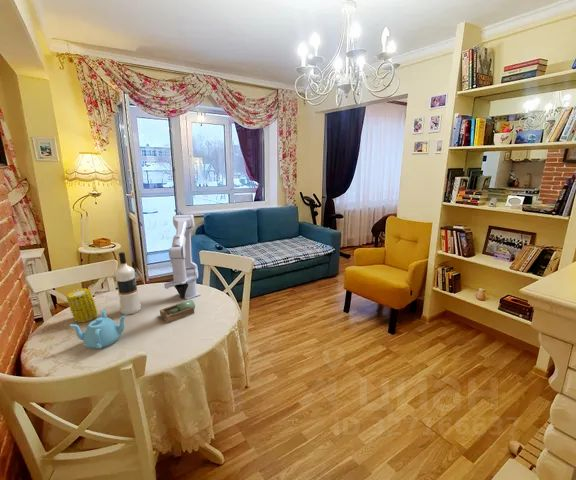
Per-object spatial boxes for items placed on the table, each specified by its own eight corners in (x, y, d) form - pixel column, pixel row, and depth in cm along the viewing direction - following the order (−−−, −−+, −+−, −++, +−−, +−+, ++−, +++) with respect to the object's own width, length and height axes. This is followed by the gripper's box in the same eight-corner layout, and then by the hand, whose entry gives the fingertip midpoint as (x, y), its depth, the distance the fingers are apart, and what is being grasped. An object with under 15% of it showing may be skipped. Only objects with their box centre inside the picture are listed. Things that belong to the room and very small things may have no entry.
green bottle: (190, 307, 150) (169, 315, 142) (189, 298, 148) (168, 305, 141) (195, 311, 146) (173, 319, 139) (194, 301, 145) (172, 309, 137)
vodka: (118, 310, 148) (108, 252, 140) (138, 304, 154) (130, 248, 146) (122, 317, 141) (112, 256, 133) (143, 311, 147) (134, 252, 139)
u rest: (160, 315, 142) (159, 310, 141) (185, 306, 150) (185, 301, 150) (168, 323, 135) (167, 317, 135) (194, 313, 144) (193, 307, 143)
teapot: (97, 356, 113) (92, 332, 110) (72, 346, 119) (67, 323, 116) (131, 336, 126) (127, 313, 123) (107, 328, 132) (103, 307, 129)
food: (102, 318, 144) (80, 329, 135) (87, 308, 148) (65, 318, 140) (100, 291, 138) (76, 301, 129) (84, 282, 142) (60, 291, 134)
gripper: (167, 277, 132) (170, 305, 136) (197, 269, 142) (200, 296, 145) (161, 273, 137) (164, 300, 141) (191, 266, 147) (193, 291, 150)
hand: (182, 298), depth 143 cm, fingers closed
